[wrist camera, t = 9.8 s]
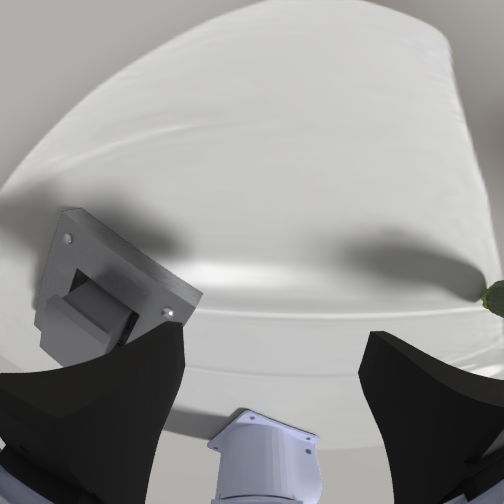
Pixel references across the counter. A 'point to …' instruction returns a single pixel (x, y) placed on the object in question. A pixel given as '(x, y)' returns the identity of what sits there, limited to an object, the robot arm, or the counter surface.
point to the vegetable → (495, 298)
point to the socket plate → (113, 274)
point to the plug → (83, 324)
